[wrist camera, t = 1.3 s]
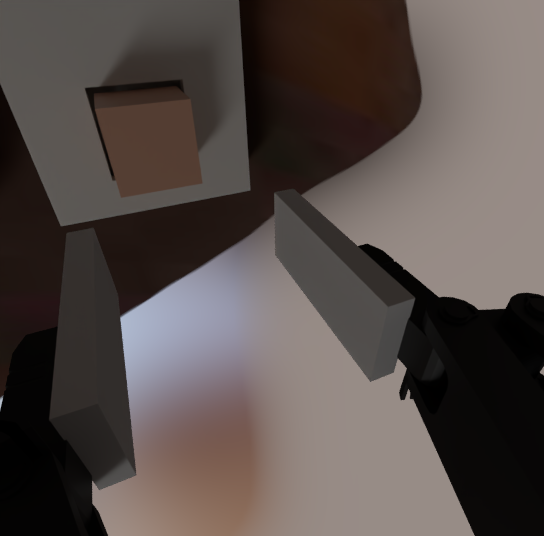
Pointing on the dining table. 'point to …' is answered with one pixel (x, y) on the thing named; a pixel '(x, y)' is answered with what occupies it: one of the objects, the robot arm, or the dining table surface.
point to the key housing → (120, 77)
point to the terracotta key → (149, 139)
